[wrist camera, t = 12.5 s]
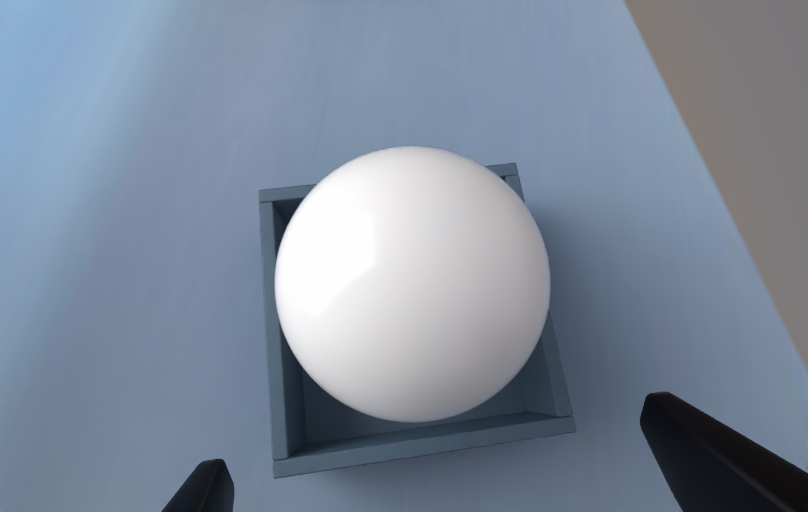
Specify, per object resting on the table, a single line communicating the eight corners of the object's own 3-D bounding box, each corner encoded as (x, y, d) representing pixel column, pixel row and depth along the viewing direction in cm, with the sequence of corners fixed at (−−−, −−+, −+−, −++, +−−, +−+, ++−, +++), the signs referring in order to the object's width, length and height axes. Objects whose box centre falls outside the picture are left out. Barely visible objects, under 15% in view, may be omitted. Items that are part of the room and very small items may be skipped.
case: (536, 421, 18) (577, 431, 14) (297, 457, 17) (272, 479, 13) (491, 203, 20) (516, 162, 17) (282, 227, 20) (257, 189, 16)
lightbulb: (293, 325, 18) (154, 247, 8) (400, 220, 19) (411, 27, 9) (406, 440, 17) (431, 537, 6) (511, 320, 18) (674, 237, 8)
